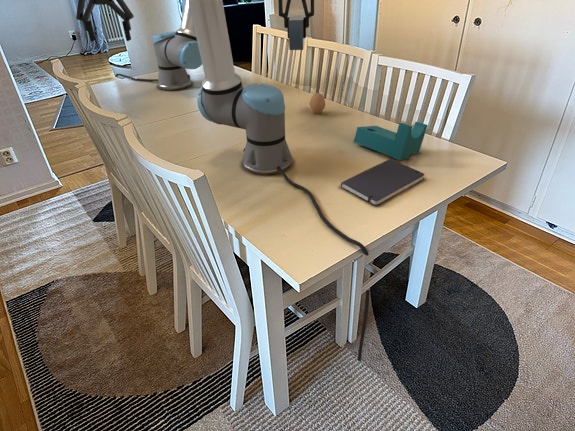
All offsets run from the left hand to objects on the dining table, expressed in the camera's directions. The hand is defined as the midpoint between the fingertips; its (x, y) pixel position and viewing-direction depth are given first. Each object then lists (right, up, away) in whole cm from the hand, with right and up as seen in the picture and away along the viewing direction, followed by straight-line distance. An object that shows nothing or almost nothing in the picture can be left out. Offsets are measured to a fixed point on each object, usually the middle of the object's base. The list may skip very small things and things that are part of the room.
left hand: (111, 40), depth 149 cm
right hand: (+69, 0, -2) cm, 69 cm away
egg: (+77, -25, +9) cm, 81 cm away
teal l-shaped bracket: (+98, -43, -17) cm, 108 cm away
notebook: (+93, -56, -35) cm, 113 cm away
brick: (+69, -3, 0) cm, 69 cm away
